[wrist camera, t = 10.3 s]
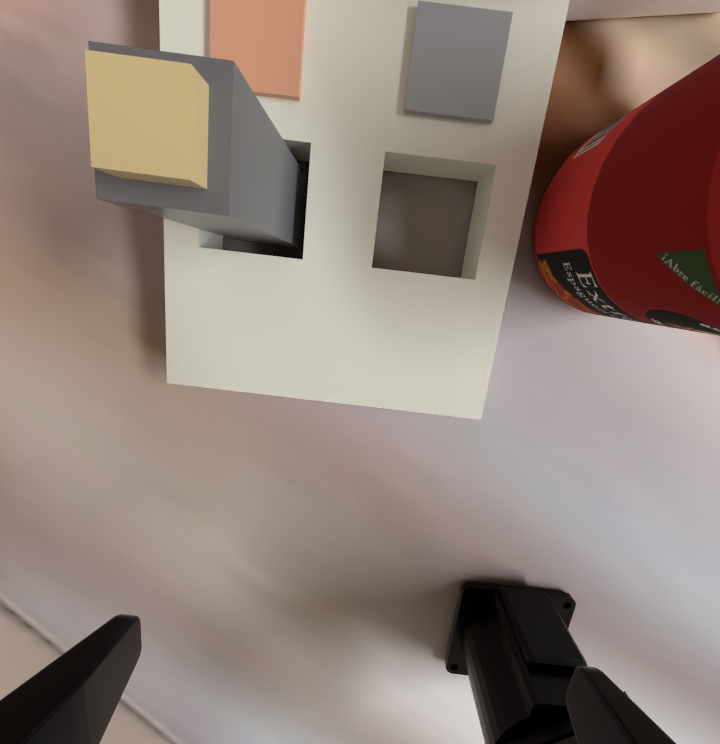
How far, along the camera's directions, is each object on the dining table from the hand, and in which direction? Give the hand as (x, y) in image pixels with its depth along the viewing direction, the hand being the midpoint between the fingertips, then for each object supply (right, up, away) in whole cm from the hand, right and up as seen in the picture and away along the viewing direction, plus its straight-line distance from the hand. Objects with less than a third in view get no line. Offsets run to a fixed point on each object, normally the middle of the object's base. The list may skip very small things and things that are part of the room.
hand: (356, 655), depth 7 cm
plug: (-4, +13, +9) cm, 17 cm away
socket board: (-1, +13, +9) cm, 16 cm away
